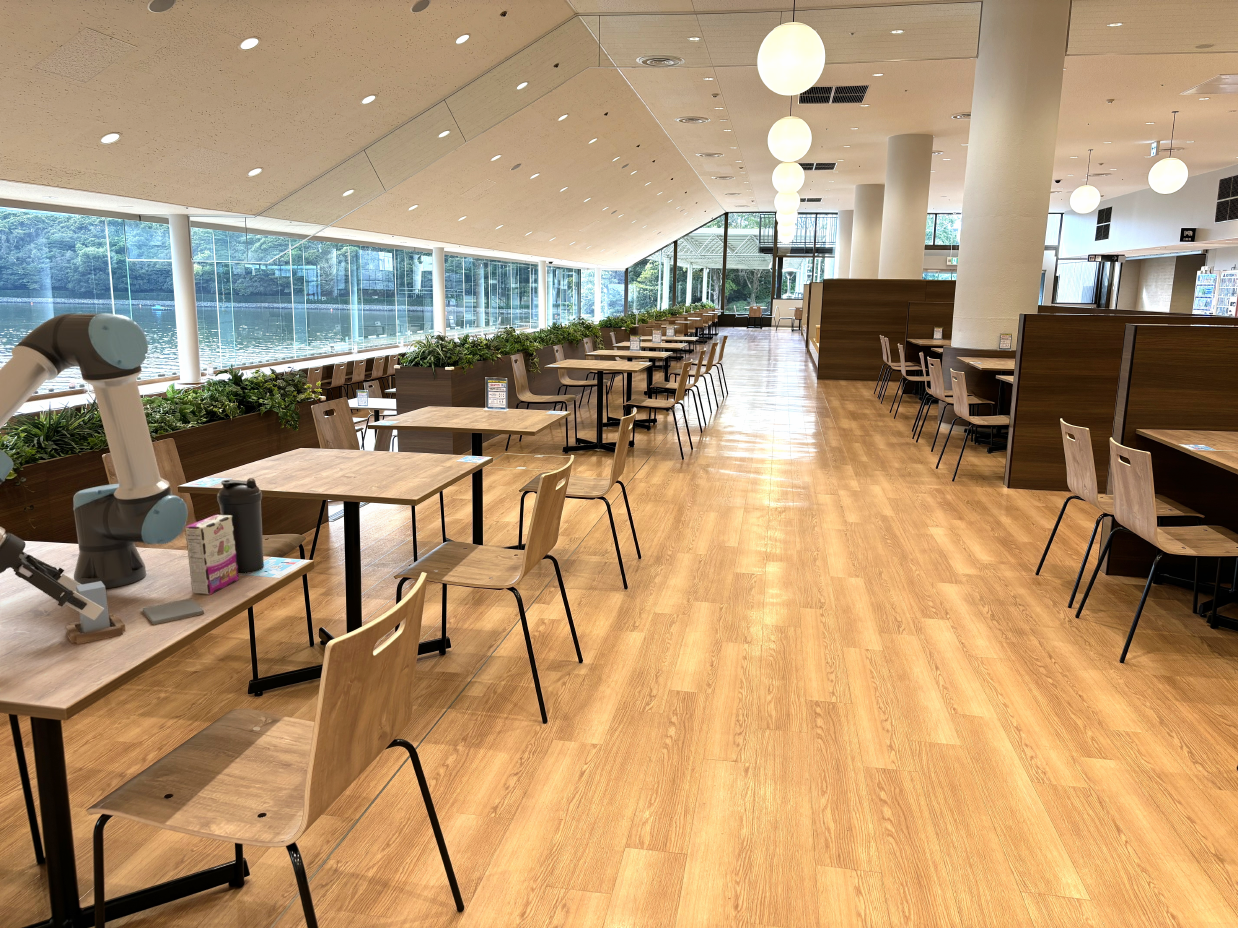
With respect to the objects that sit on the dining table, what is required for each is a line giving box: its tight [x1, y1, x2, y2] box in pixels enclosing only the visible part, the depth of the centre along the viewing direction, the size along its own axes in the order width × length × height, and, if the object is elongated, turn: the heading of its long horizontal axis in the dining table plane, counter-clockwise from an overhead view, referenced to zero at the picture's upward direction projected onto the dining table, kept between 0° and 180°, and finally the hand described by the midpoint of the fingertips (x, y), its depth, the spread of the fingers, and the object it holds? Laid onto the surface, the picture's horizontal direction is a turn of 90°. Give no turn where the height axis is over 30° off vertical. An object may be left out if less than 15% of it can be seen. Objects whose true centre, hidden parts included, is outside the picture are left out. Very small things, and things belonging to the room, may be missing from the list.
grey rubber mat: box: [141, 597, 205, 625], centre depth 188 cm, size 10×10×1 cm
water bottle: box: [216, 477, 265, 575], centre depth 216 cm, size 10×10×23 cm
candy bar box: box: [184, 514, 240, 595], centre depth 203 cm, size 11×5×16 cm, turn 168°
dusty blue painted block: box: [76, 581, 111, 634], centre depth 176 cm, size 4×4×10 cm
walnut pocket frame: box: [65, 614, 126, 645], centre depth 177 cm, size 10×10×2 cm
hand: (92, 604), depth 176 cm, fingers open, 13 cm apart
